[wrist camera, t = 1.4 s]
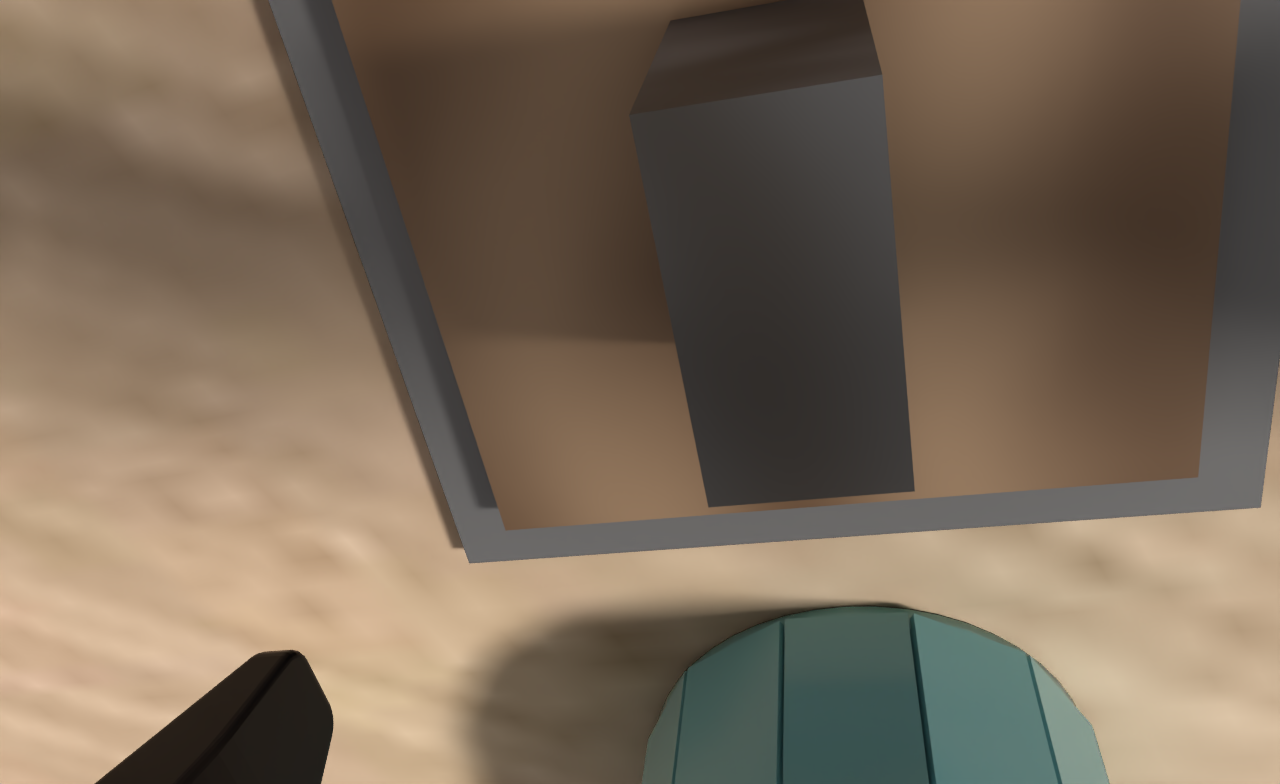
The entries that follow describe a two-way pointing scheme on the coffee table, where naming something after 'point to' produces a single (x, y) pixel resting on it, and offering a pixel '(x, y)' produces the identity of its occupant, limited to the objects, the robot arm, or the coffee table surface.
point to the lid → (809, 241)
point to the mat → (1228, 479)
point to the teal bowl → (870, 708)
